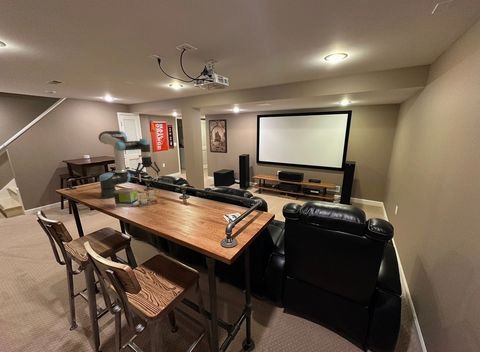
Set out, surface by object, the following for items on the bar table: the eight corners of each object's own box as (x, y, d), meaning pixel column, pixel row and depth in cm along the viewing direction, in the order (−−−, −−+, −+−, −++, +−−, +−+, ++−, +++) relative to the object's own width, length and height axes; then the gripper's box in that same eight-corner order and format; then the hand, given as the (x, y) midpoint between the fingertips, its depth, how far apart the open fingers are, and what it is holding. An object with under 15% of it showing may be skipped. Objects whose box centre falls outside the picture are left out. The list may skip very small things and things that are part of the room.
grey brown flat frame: (139, 205, 169) (138, 202, 168) (157, 202, 177) (156, 199, 177) (140, 209, 162) (139, 205, 161) (159, 205, 170) (158, 202, 169)
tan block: (141, 204, 168) (139, 193, 166) (146, 203, 170) (145, 192, 168) (141, 206, 164) (140, 195, 162) (147, 205, 167) (146, 194, 164)
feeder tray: (145, 201, 180) (144, 198, 180) (156, 199, 186) (156, 196, 185) (146, 204, 173) (146, 201, 172) (158, 202, 178) (158, 199, 178)
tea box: (139, 203, 174) (137, 188, 171) (131, 208, 164) (129, 191, 161) (123, 203, 175) (121, 187, 172) (115, 207, 166) (112, 191, 162)
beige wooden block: (149, 201, 178) (147, 190, 176) (154, 200, 181) (153, 190, 179) (149, 202, 175) (148, 192, 173) (155, 201, 177) (154, 191, 175)
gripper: (130, 158, 159) (133, 183, 163) (162, 156, 172) (164, 179, 176) (129, 157, 165) (132, 181, 169) (160, 155, 178) (162, 177, 182)
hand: (148, 180), depth 173 cm, fingers open, 13 cm apart
